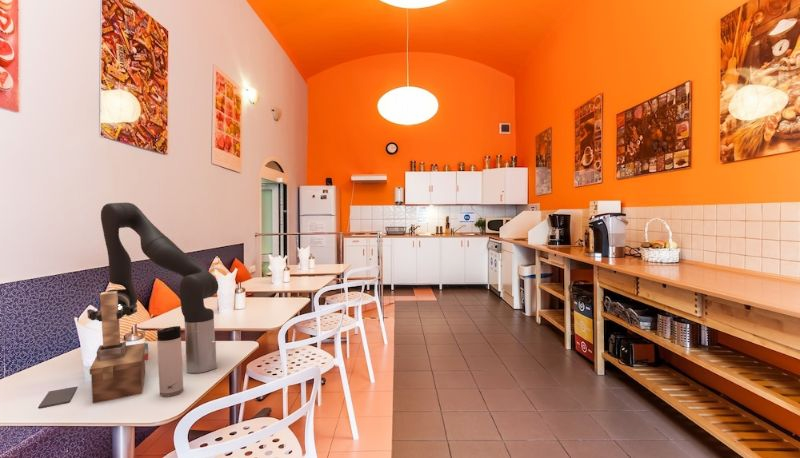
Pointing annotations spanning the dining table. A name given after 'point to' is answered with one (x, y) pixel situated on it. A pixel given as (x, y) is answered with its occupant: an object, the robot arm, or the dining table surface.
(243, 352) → the dining table surface
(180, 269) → the robot arm
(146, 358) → the yogurt
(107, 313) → the wooden block
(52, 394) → the rubber mat
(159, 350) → the travel mug
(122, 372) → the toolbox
